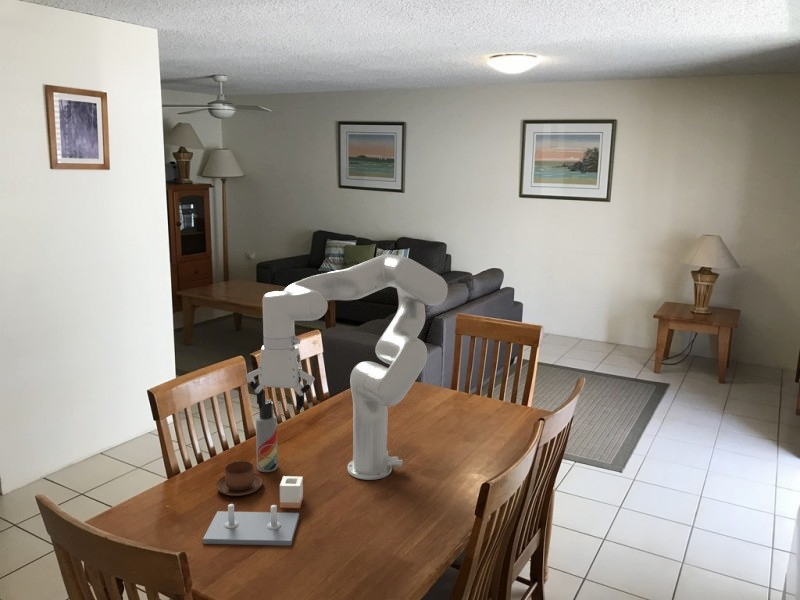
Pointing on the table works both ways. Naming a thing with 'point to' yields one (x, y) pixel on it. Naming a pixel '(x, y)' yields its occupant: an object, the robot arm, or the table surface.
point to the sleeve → (291, 492)
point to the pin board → (252, 527)
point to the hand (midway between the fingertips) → (280, 407)
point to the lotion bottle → (266, 438)
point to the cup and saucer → (239, 479)
